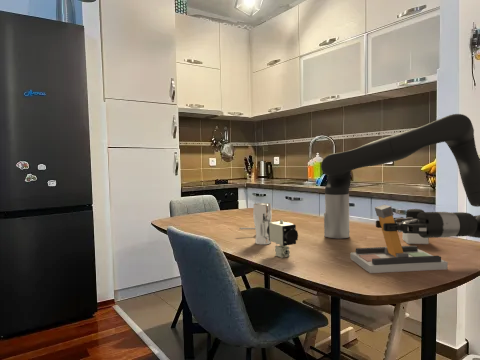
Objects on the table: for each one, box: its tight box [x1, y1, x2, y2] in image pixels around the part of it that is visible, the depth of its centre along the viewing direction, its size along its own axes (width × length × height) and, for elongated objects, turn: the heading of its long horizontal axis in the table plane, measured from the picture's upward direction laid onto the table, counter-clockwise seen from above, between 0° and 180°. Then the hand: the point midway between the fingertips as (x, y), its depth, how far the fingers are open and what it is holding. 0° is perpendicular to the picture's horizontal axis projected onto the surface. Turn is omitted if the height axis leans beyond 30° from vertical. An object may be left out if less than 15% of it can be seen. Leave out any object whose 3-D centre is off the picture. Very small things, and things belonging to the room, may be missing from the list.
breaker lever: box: [374, 204, 403, 257], centre depth 103 cm, size 3×5×15 cm, turn 3°
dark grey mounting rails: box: [355, 245, 442, 265], centre depth 103 cm, size 19×13×1 cm
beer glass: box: [252, 202, 273, 246], centre depth 134 cm, size 7×7×15 cm
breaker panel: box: [350, 246, 449, 274], centre depth 103 cm, size 22×14×4 cm, turn 93°
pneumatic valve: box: [267, 219, 299, 259], centre depth 115 cm, size 6×12×12 cm, turn 28°
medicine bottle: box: [402, 208, 430, 245], centre depth 128 cm, size 7×7×12 cm
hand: (380, 225), depth 102 cm, fingers closed on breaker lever, 4 cm apart
